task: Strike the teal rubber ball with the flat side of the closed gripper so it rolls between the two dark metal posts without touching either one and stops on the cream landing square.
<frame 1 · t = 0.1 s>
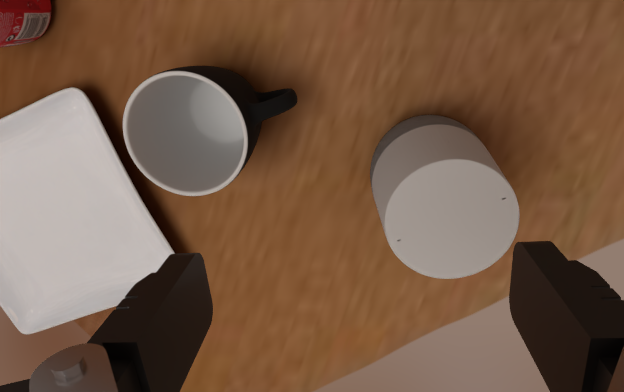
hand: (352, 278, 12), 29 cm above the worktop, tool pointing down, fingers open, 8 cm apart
salad plate: (67, 211, 46), on the worktop
smart speaker: (421, 158, 40), on the worktop
mug: (240, 104, 40), on the worktop
soda can: (20, 1, 38), on the worktop
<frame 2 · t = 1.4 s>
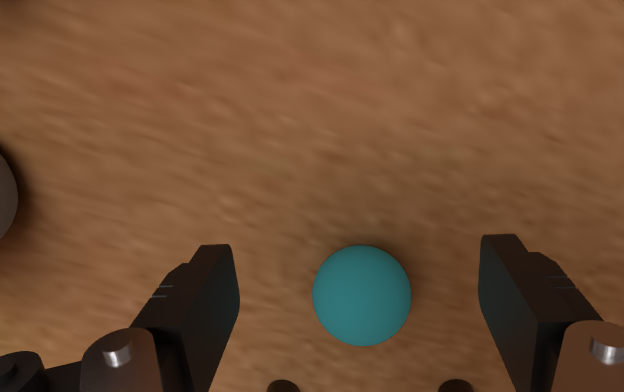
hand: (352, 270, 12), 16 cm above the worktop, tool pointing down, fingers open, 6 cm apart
ball: (361, 294, 27), on the worktop
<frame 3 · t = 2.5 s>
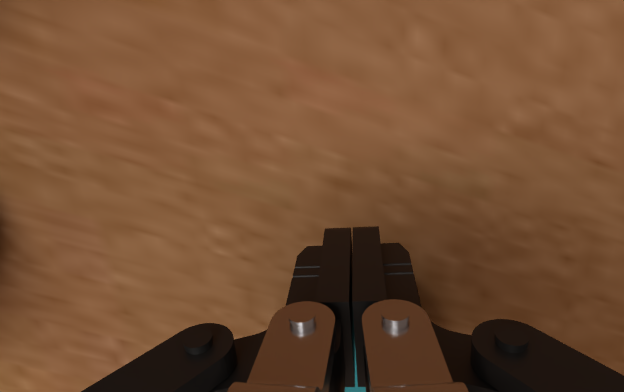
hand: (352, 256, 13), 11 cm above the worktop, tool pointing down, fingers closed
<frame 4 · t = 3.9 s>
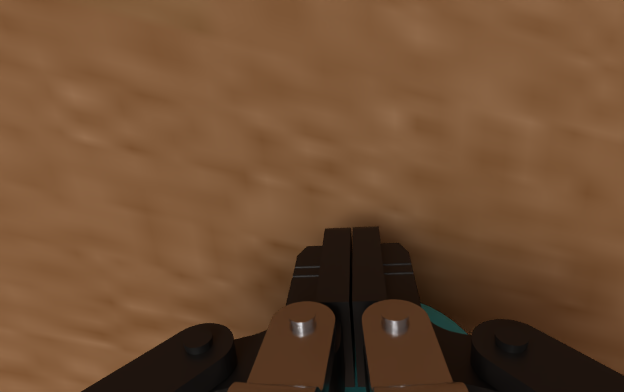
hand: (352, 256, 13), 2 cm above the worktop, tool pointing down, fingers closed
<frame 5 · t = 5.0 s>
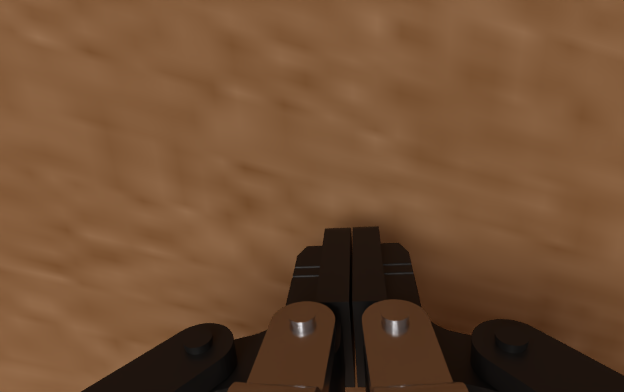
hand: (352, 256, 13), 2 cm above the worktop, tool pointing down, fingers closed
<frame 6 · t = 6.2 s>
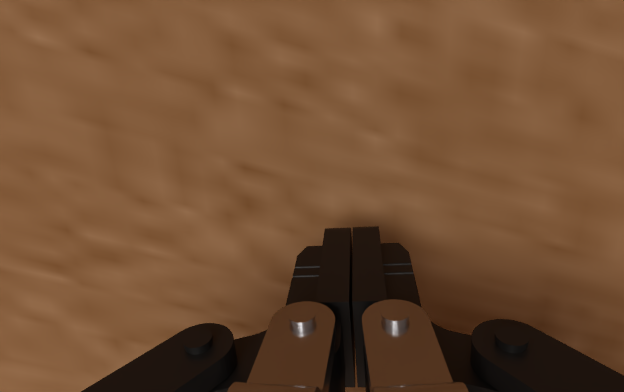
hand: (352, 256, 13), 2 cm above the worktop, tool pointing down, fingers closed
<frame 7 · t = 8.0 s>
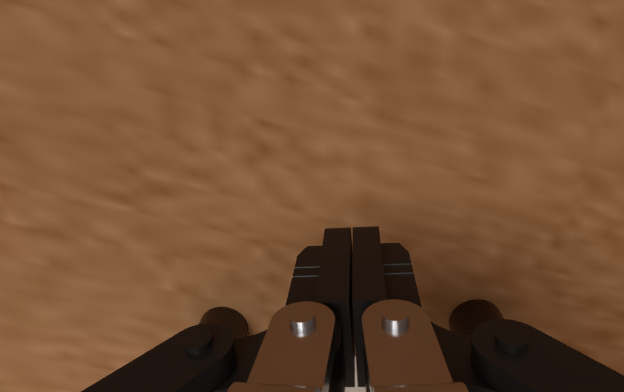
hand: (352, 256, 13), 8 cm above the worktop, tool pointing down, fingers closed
post 1: (224, 327, 24), on the worktop
post 2: (475, 321, 23), on the worktop
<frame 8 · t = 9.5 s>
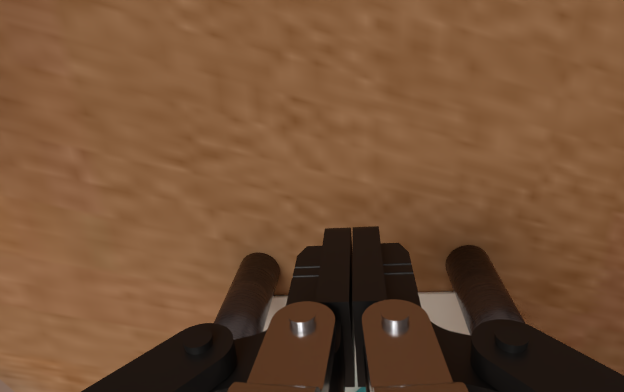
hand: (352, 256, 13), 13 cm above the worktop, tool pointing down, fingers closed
post 1: (259, 270, 29), on the worktop
post 2: (467, 263, 27), on the worktop
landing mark: (366, 376, 31), on the worktop
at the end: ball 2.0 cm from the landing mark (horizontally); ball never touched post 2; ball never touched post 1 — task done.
